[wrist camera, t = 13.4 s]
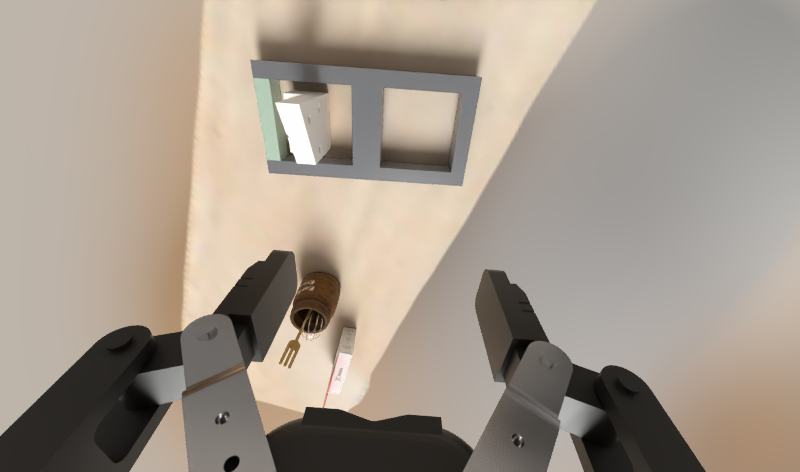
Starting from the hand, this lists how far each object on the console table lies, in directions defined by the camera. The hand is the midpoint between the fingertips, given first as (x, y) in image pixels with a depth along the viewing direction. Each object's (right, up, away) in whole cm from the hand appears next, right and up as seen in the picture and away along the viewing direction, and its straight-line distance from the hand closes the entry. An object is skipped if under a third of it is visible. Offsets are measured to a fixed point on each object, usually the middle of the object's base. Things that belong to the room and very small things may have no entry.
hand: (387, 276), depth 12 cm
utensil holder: (-11, -6, +32) cm, 35 cm away
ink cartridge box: (-9, -18, +40) cm, 45 cm away
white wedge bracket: (-9, +15, +20) cm, 27 cm away
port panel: (-3, +14, +20) cm, 25 cm away
